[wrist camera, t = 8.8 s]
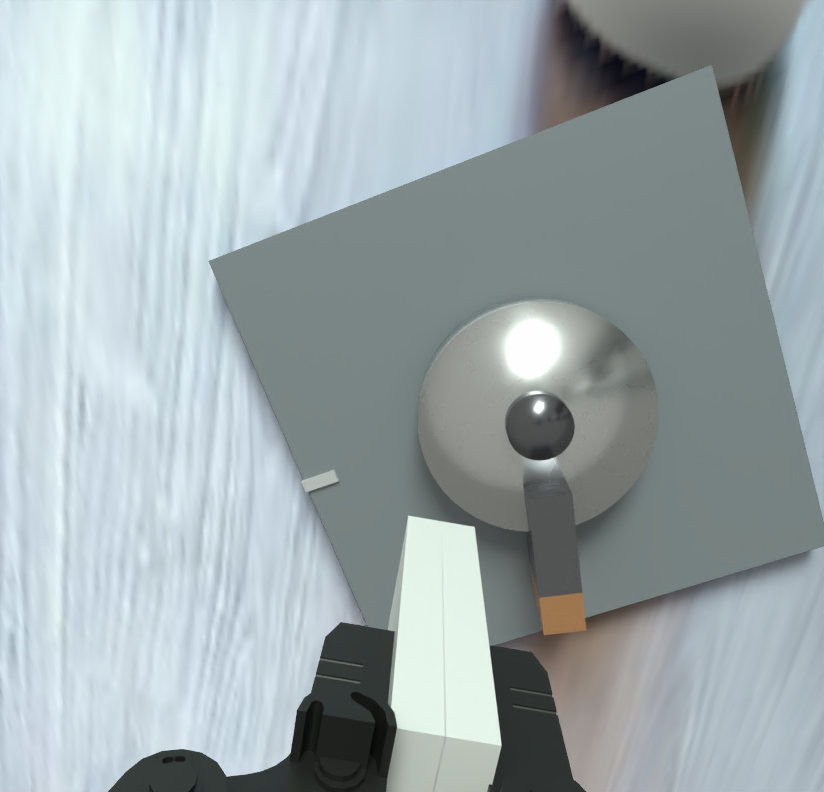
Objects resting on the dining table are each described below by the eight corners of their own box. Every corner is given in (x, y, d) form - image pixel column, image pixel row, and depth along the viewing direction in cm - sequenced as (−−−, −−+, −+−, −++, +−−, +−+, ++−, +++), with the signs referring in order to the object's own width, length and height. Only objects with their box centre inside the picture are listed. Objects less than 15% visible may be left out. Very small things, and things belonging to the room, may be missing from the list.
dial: (402, 315, 33) (398, 327, 29) (638, 280, 32) (662, 288, 29) (448, 604, 37) (449, 646, 33) (659, 579, 36) (683, 619, 32)
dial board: (698, 71, 31) (714, 63, 30) (813, 531, 37) (832, 547, 35) (216, 259, 34) (204, 262, 33) (389, 660, 40) (387, 681, 38)
